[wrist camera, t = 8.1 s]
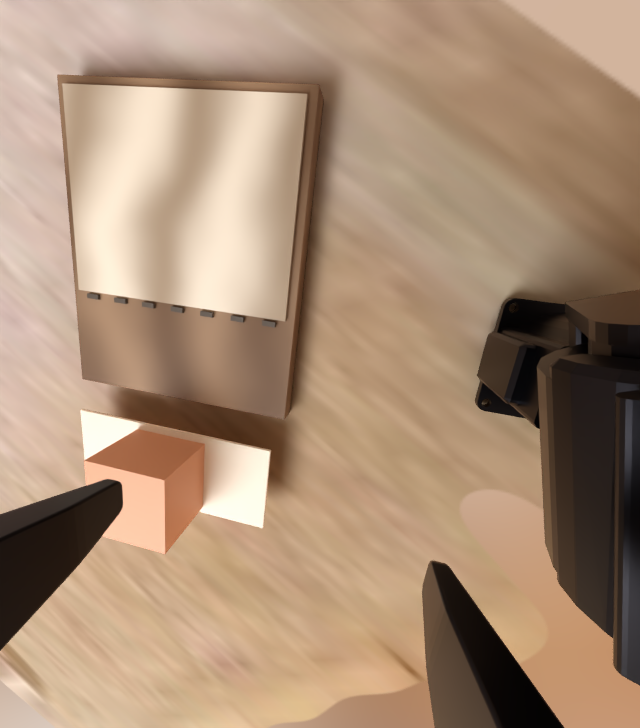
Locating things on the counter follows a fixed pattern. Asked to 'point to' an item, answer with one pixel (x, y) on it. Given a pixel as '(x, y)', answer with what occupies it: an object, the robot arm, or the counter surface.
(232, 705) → the counter surface
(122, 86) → the board
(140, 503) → the butter dish
